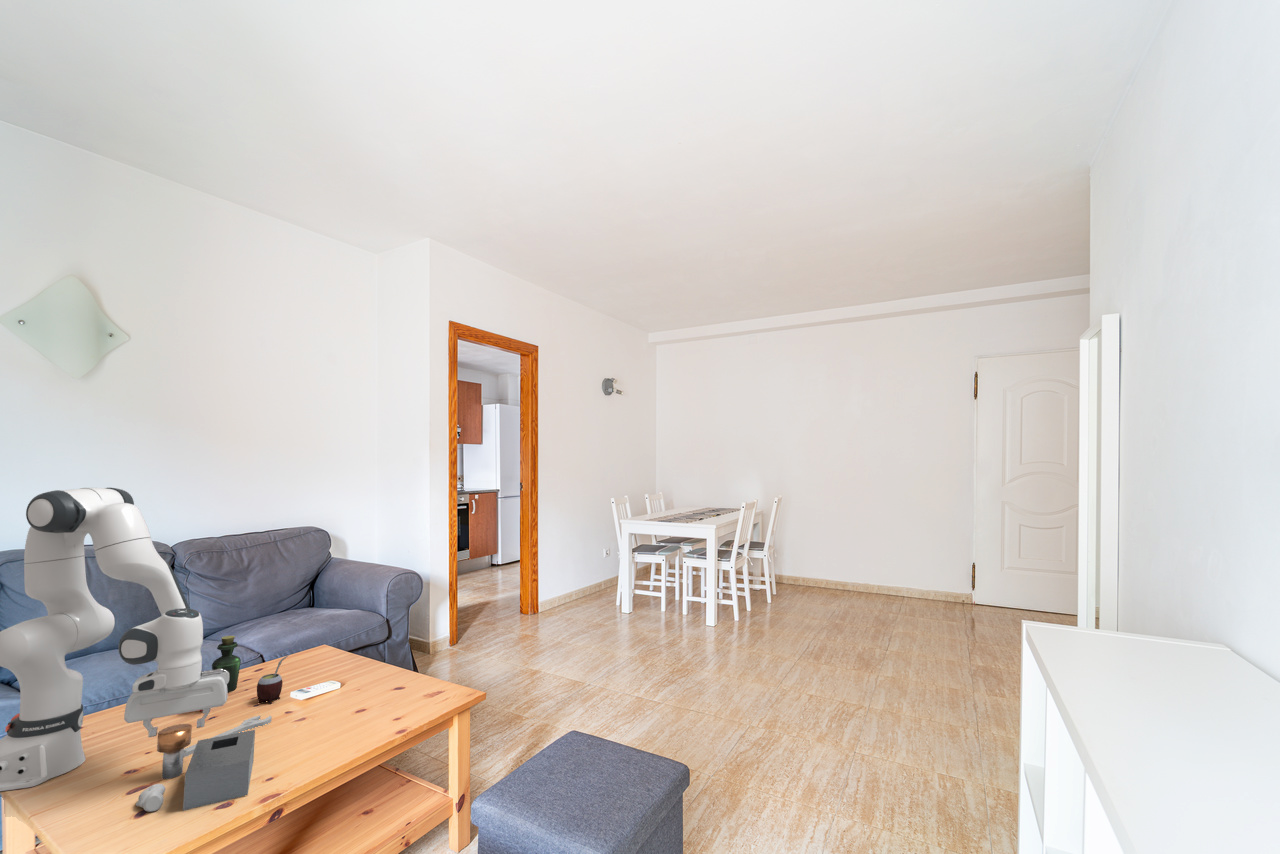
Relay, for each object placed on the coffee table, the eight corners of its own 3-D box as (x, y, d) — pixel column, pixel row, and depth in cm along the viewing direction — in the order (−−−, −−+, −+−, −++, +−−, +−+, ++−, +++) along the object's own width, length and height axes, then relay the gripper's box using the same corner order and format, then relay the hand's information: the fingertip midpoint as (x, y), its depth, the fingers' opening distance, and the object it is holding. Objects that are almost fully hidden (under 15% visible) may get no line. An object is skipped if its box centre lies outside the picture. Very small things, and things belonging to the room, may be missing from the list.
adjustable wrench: (178, 761, 149) (178, 754, 149) (165, 756, 152) (165, 749, 152) (274, 722, 171) (274, 716, 172) (261, 718, 174) (261, 712, 174)
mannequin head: (141, 806, 131) (168, 792, 134) (136, 823, 124) (166, 808, 127) (135, 789, 130) (162, 775, 133) (130, 805, 124) (159, 790, 127)
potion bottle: (243, 689, 196) (246, 636, 197) (216, 697, 189) (219, 642, 190) (232, 684, 200) (235, 632, 202) (205, 691, 193) (209, 638, 195)
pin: (152, 785, 137) (155, 738, 138) (158, 772, 143) (161, 727, 143) (186, 777, 140) (189, 731, 141) (191, 765, 146) (193, 721, 147)
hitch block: (182, 810, 127) (185, 773, 128) (196, 773, 142) (198, 740, 143) (247, 795, 133) (249, 760, 134) (253, 761, 149) (255, 729, 149)
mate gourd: (254, 700, 186) (257, 654, 188) (282, 694, 192) (284, 649, 193) (258, 708, 181) (260, 660, 182) (286, 701, 186) (289, 654, 187)
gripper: (231, 663, 151) (229, 716, 150) (130, 679, 141) (127, 736, 140) (228, 670, 146) (226, 725, 145) (123, 687, 135) (120, 747, 134)
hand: (177, 731), depth 142 cm, fingers open, 8 cm apart
